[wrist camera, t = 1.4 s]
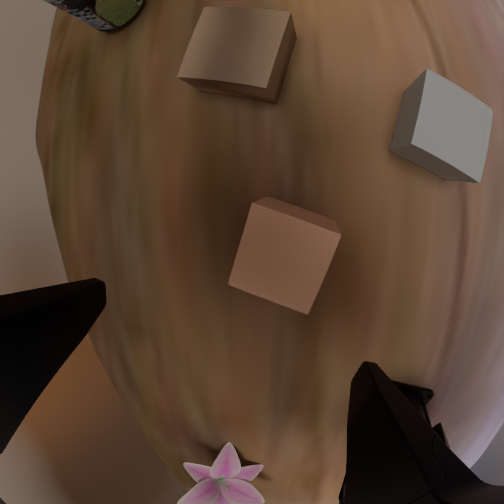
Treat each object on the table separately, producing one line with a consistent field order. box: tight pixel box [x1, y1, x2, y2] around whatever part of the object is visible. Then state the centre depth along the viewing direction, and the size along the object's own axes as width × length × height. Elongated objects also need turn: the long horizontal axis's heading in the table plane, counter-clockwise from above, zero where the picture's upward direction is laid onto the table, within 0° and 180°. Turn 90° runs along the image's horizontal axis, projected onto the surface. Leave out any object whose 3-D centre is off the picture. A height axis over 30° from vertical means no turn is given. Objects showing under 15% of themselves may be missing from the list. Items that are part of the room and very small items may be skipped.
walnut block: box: [177, 7, 297, 104], centre depth 15 cm, size 6×6×4 cm
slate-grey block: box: [389, 69, 493, 183], centre depth 13 cm, size 5×5×5 cm
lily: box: [177, 442, 265, 504], centre depth 26 cm, size 12×12×10 cm
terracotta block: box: [228, 196, 341, 315], centre depth 17 cm, size 5×5×5 cm
